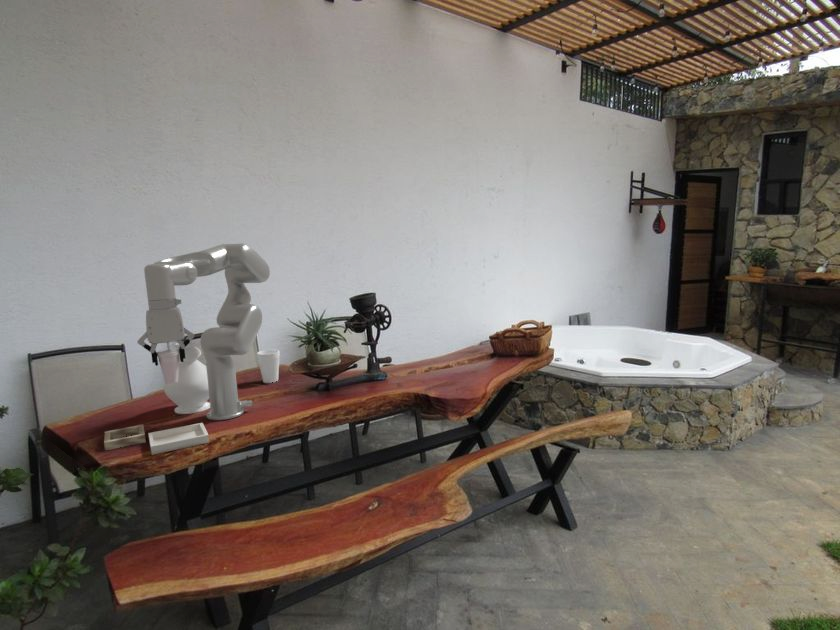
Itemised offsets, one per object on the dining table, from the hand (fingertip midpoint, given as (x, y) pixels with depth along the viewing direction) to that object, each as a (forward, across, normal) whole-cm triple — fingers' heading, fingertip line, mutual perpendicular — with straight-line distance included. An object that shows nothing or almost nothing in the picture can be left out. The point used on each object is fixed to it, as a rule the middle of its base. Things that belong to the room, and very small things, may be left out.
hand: (169, 362), depth 160 cm
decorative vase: (+26, -8, -33) cm, 42 cm away
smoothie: (+6, 0, 0) cm, 6 cm away
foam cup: (+26, -41, -53) cm, 72 cm away
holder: (+25, +15, -10) cm, 31 cm away
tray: (+25, 0, 0) cm, 25 cm away
